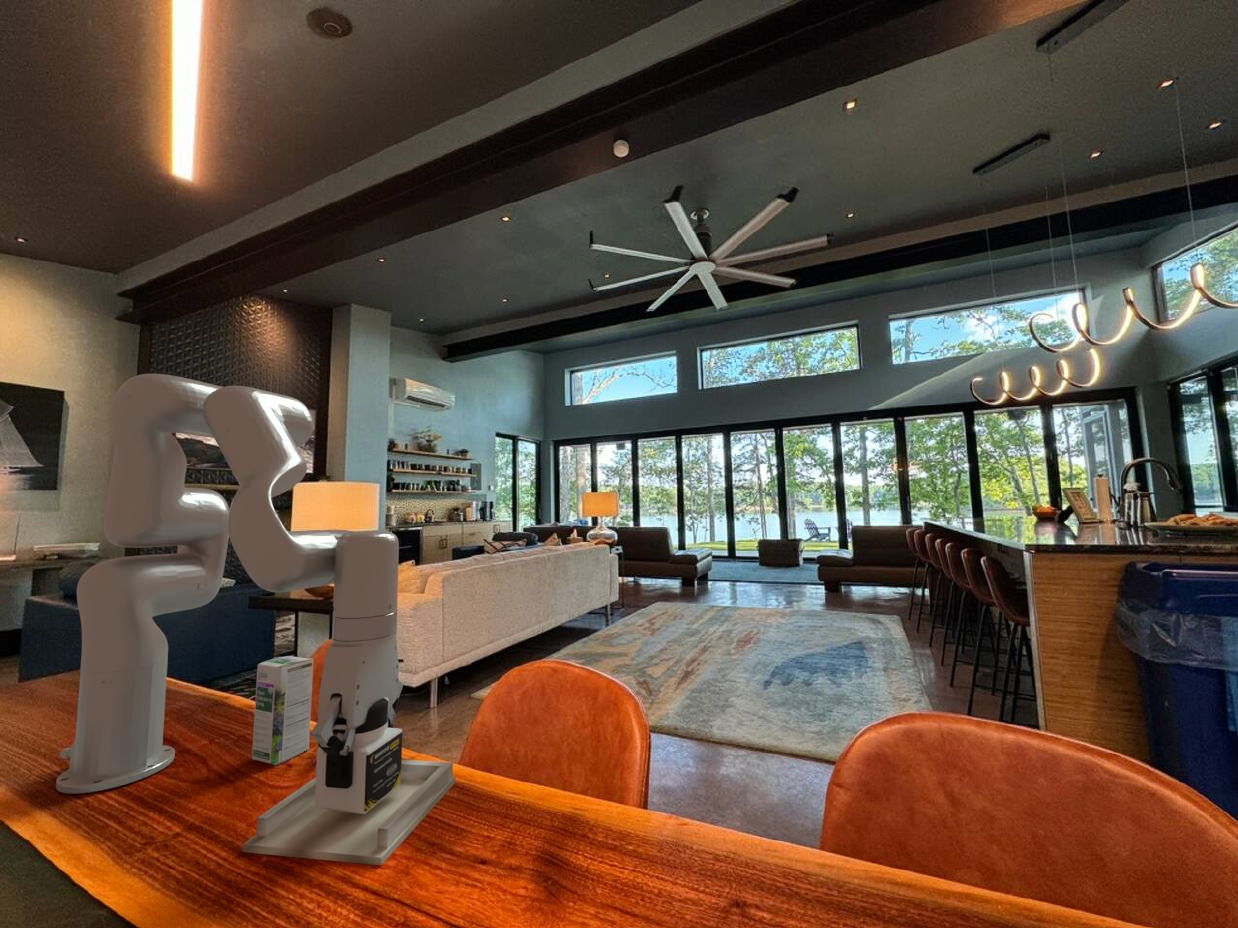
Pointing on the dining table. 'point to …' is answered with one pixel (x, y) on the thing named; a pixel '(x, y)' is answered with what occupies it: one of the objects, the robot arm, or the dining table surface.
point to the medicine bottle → (365, 765)
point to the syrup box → (282, 709)
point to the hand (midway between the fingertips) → (360, 768)
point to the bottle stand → (352, 820)
